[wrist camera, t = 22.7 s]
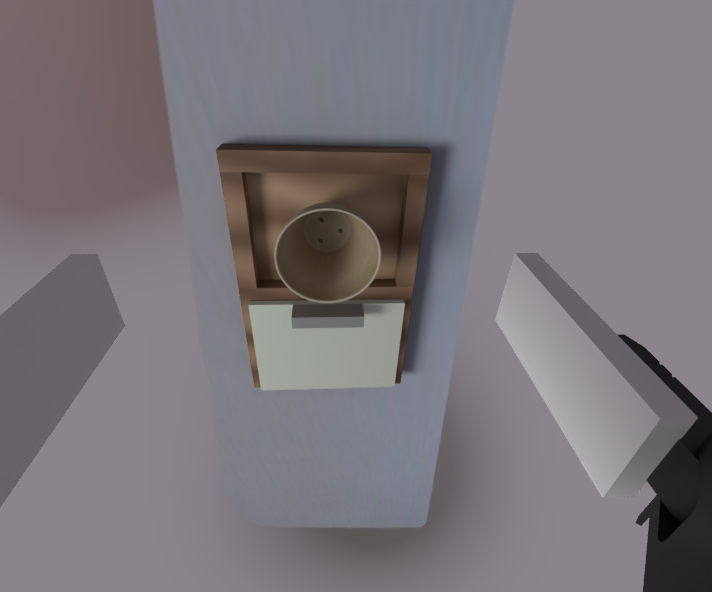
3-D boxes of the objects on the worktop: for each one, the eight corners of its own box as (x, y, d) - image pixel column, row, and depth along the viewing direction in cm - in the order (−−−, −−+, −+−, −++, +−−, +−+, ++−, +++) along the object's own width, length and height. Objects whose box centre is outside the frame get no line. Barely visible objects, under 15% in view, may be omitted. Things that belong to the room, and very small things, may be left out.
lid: (249, 301, 44) (244, 318, 42) (403, 299, 46) (408, 316, 43) (261, 386, 52) (258, 405, 49) (393, 382, 54) (397, 400, 51)
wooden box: (221, 144, 37) (216, 149, 35) (427, 147, 38) (432, 153, 37) (257, 375, 54) (254, 387, 52) (397, 371, 56) (400, 383, 54)
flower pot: (377, 261, 45) (386, 295, 39) (292, 273, 45) (288, 310, 39) (367, 175, 39) (375, 200, 33) (270, 190, 39) (261, 218, 33)
